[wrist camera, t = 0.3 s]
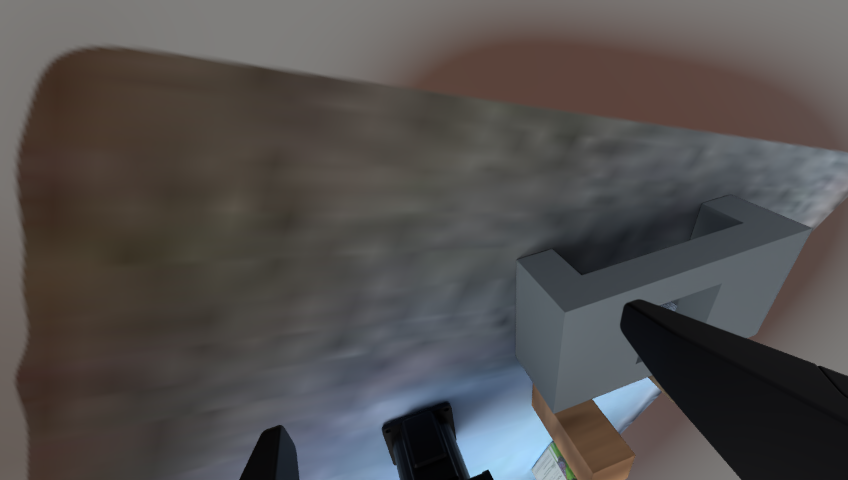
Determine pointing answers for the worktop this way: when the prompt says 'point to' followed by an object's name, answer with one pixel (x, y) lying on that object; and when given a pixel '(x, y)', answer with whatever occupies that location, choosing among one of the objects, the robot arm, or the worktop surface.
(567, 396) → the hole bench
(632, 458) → the long pin
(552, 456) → the syrup box
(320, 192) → the worktop surface
